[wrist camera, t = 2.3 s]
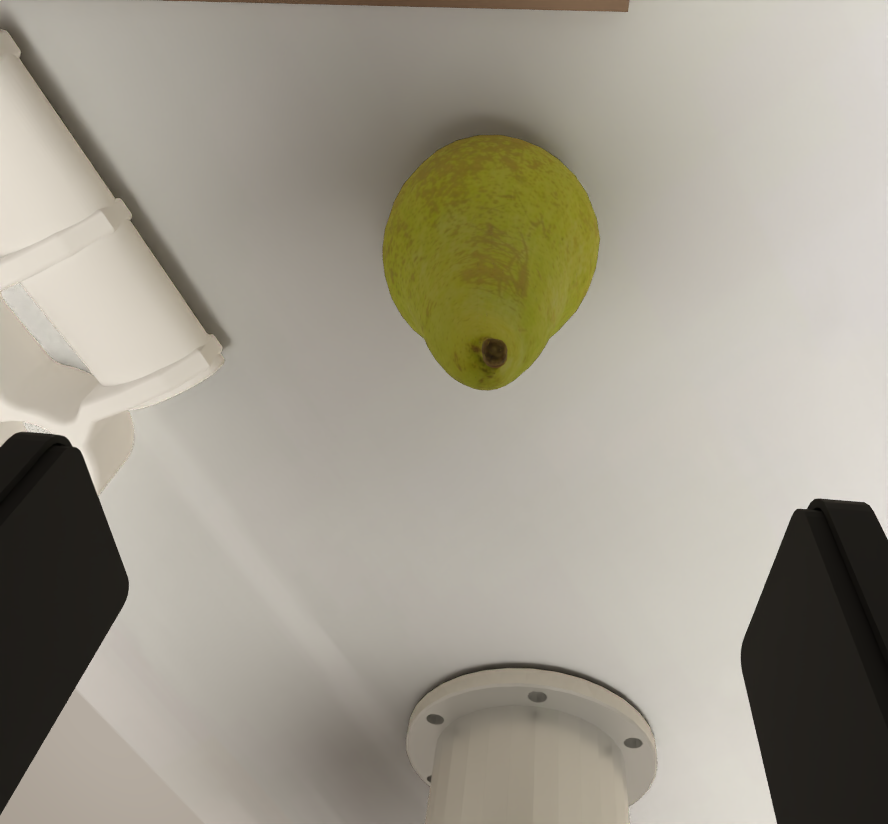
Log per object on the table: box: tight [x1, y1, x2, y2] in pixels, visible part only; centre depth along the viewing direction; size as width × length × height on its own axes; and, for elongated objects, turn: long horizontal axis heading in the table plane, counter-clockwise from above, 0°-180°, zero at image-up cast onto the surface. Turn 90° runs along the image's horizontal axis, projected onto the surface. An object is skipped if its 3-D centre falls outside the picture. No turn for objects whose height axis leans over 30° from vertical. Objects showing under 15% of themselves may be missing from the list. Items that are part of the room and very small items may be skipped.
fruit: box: [383, 135, 600, 390], centre depth 18 cm, size 6×6×12 cm
